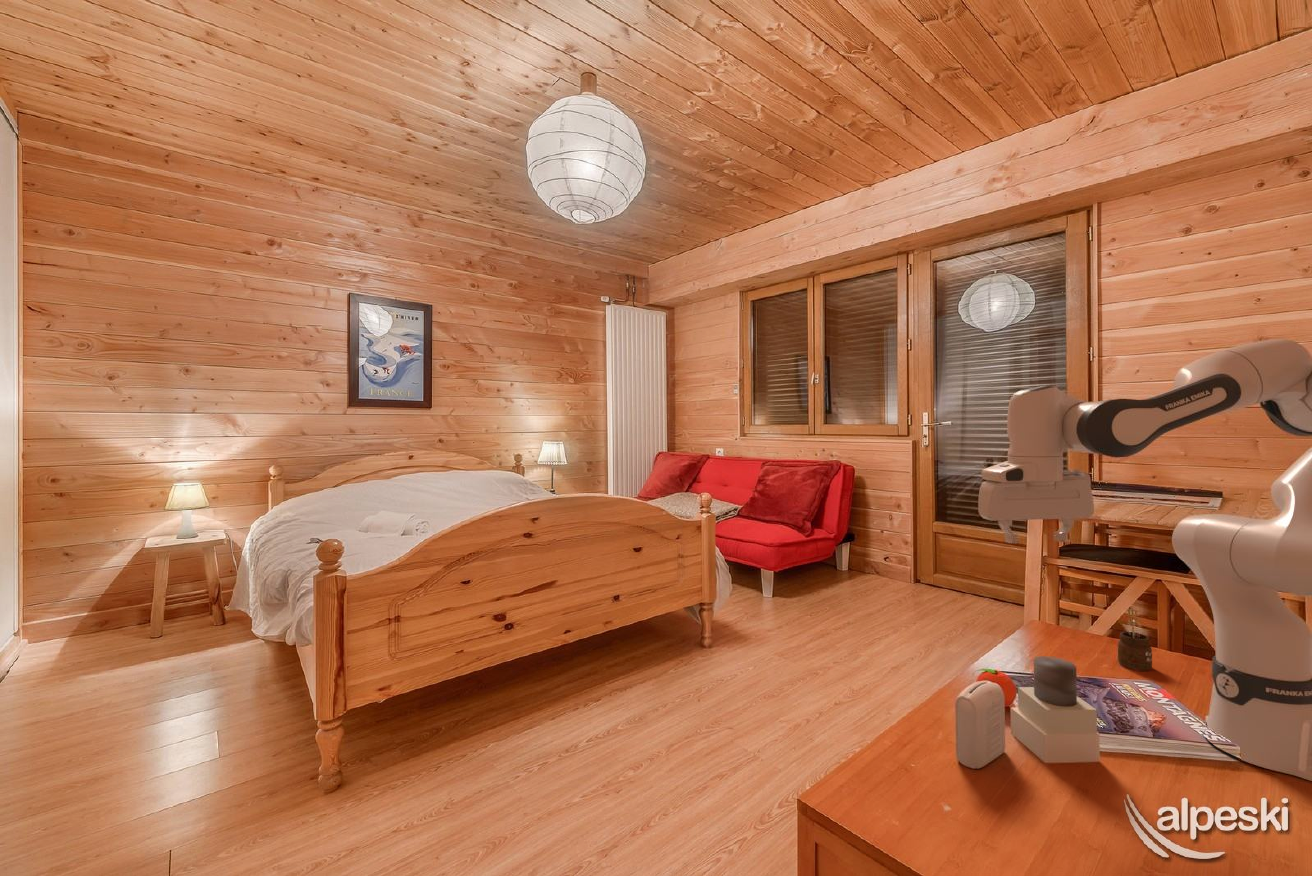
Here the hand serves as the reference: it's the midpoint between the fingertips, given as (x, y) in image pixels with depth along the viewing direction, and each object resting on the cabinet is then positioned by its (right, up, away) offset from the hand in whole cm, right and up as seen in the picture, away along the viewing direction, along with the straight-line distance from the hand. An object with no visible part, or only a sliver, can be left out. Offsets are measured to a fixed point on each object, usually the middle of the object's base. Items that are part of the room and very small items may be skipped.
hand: (1036, 542), depth 108 cm
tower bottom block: (-4, -34, -11) cm, 36 cm away
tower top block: (-4, -29, -11) cm, 31 cm away
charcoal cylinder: (-5, -25, -11) cm, 28 cm away
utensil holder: (+35, -32, +19) cm, 51 cm away
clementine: (-6, -34, +4) cm, 34 cm away
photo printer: (-18, -34, -13) cm, 41 cm away
